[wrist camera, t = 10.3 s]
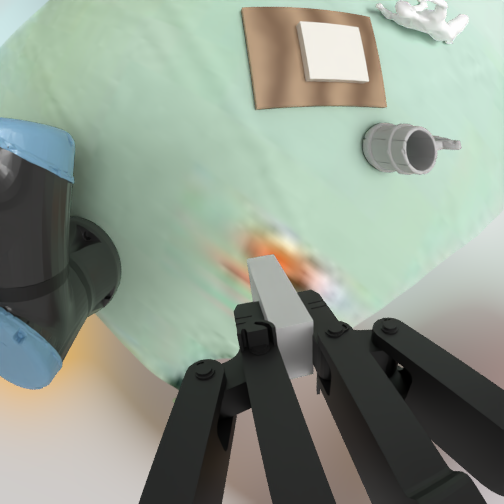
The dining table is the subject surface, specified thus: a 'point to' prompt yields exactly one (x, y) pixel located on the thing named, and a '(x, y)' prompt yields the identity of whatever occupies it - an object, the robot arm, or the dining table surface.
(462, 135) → the dining table surface
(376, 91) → the board
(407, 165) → the mug
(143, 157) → the dining table surface
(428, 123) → the dining table surface
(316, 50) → the tile
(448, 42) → the person figurine
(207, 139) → the dining table surface
